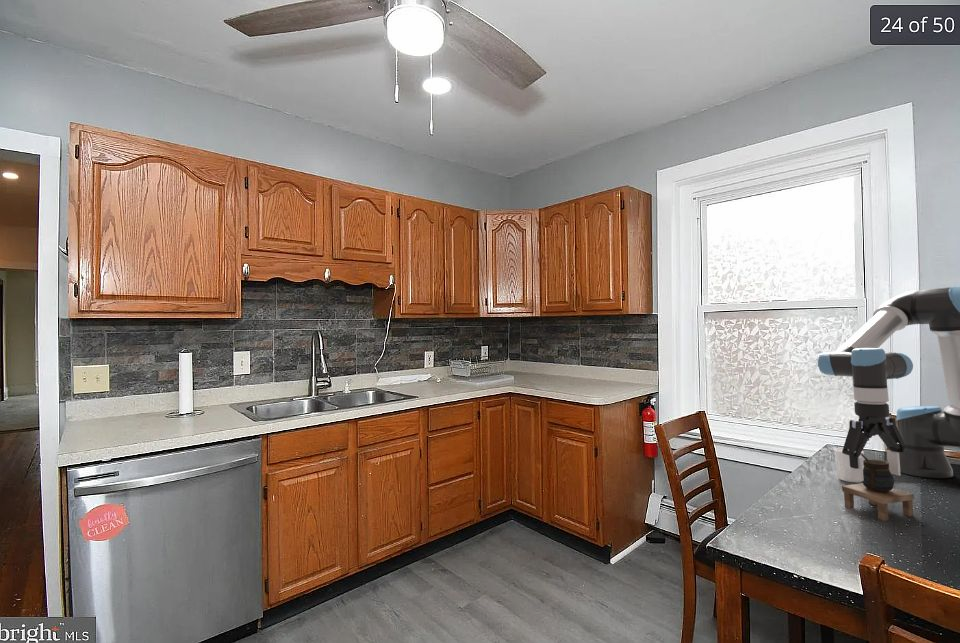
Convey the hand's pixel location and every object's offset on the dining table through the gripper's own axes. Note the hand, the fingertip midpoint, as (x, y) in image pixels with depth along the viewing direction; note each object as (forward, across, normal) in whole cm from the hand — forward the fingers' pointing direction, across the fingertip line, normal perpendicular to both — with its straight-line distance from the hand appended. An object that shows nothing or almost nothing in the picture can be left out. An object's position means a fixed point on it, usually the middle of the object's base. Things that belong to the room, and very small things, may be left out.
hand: (876, 477), depth 129 cm
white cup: (+10, -20, -23) cm, 32 cm away
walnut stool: (+10, 0, 0) cm, 10 cm away
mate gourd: (+4, 0, 0) cm, 4 cm away
